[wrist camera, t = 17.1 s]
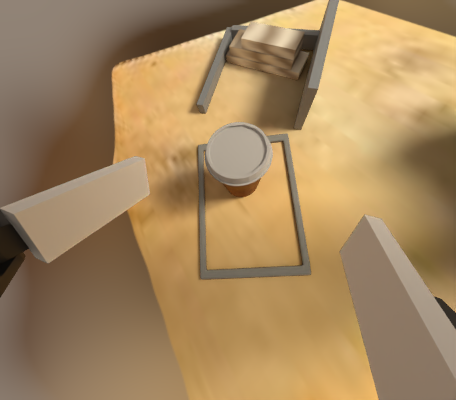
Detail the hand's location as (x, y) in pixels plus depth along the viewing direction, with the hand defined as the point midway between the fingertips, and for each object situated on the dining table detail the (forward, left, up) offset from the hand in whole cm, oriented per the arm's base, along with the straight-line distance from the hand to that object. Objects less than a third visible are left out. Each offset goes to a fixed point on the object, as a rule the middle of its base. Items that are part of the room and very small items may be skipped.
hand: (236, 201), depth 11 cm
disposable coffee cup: (+4, -9, -23) cm, 25 cm away
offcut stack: (+7, -40, -24) cm, 47 cm away
